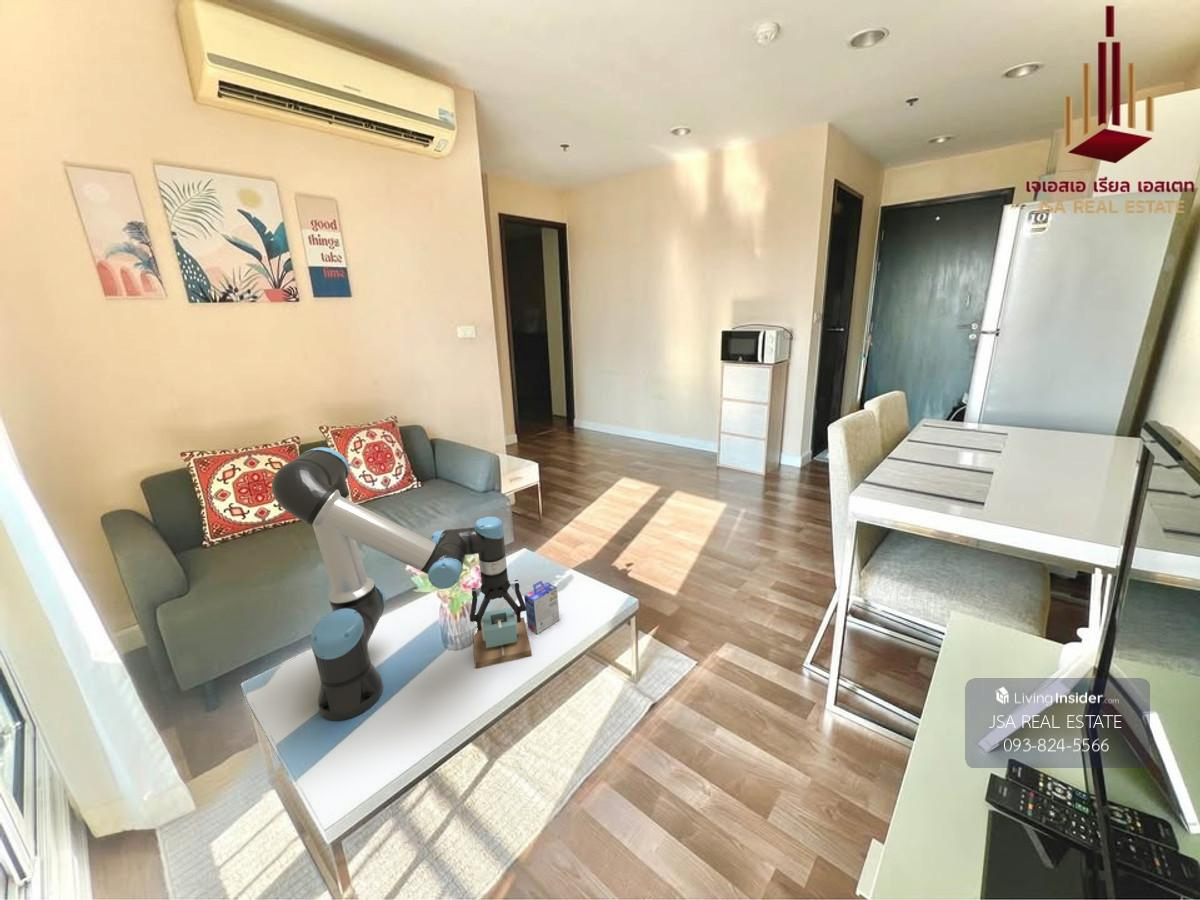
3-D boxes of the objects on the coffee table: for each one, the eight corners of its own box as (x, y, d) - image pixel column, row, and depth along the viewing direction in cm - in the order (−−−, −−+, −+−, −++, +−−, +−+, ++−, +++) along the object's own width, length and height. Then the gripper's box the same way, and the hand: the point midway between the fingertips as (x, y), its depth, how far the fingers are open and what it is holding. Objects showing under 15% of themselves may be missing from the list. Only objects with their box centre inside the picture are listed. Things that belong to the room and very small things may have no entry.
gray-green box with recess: (486, 648, 135) (484, 630, 133) (484, 629, 143) (482, 611, 141) (517, 642, 137) (515, 623, 135) (513, 623, 146) (512, 605, 144)
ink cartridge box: (549, 612, 155) (546, 574, 151) (560, 619, 152) (558, 581, 148) (526, 627, 149) (522, 588, 144) (537, 634, 145) (533, 595, 141)
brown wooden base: (475, 668, 132) (472, 645, 129) (473, 632, 146) (470, 611, 144) (531, 655, 136) (529, 632, 134) (524, 622, 151) (522, 601, 149)
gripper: (454, 583, 127) (463, 650, 134) (533, 569, 133) (538, 634, 140) (454, 569, 134) (463, 634, 141) (529, 556, 140) (534, 619, 147)
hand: (500, 634), depth 140 cm, fingers closed on gray-green box with recess, 9 cm apart
